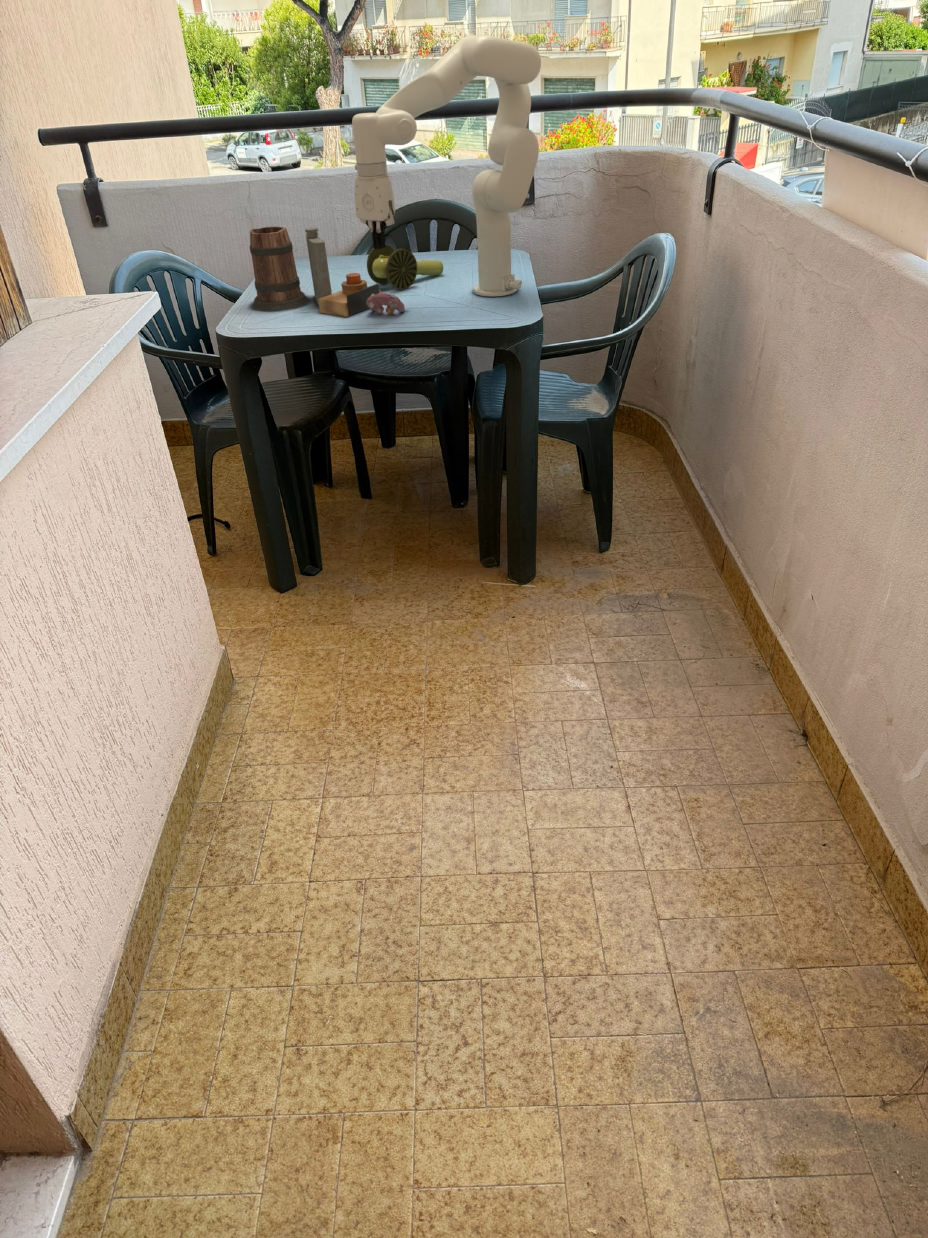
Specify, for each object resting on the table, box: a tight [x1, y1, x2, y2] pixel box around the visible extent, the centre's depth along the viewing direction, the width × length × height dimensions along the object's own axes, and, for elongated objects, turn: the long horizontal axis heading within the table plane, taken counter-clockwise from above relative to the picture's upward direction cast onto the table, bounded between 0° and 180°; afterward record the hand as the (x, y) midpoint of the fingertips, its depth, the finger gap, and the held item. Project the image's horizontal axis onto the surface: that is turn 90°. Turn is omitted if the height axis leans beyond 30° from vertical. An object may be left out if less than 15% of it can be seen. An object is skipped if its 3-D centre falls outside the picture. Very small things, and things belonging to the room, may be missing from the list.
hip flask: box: [304, 226, 333, 306], centre depth 239 cm, size 16×4×20 cm, turn 17°
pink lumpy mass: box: [366, 292, 406, 315], centre depth 230 cm, size 10×5×7 cm, turn 73°
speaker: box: [318, 279, 381, 318], centre depth 236 cm, size 10×15×6 cm, turn 144°
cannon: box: [366, 244, 444, 291], centre depth 254 cm, size 25×12×11 cm, turn 129°
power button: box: [345, 272, 362, 285], centre depth 237 cm, size 4×4×2 cm
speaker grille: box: [346, 283, 380, 316], centre depth 234 cm, size 1×13×5 cm, turn 144°
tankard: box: [249, 225, 310, 312], centre depth 243 cm, size 24×17×20 cm
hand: (379, 247), depth 222 cm, fingers closed
